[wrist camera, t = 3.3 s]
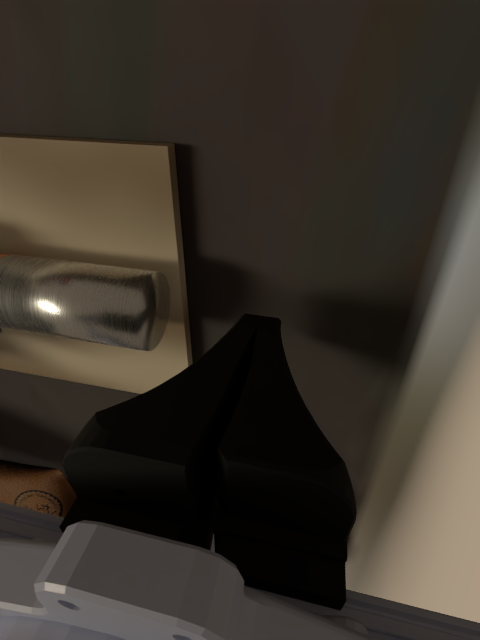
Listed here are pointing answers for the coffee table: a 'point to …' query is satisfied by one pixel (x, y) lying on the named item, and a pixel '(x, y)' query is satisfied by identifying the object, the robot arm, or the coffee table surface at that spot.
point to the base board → (95, 245)
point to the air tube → (84, 301)
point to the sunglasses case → (35, 488)
